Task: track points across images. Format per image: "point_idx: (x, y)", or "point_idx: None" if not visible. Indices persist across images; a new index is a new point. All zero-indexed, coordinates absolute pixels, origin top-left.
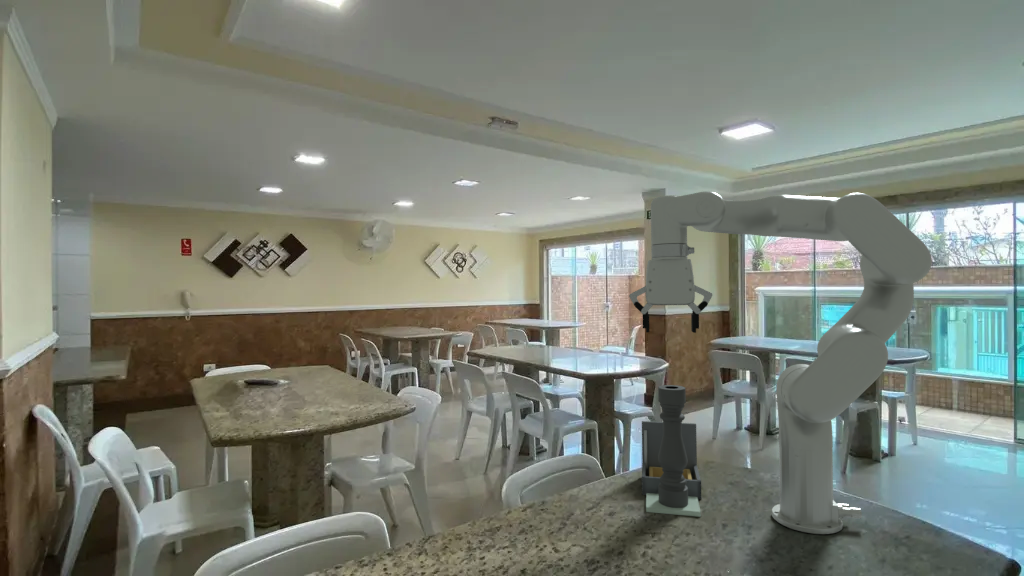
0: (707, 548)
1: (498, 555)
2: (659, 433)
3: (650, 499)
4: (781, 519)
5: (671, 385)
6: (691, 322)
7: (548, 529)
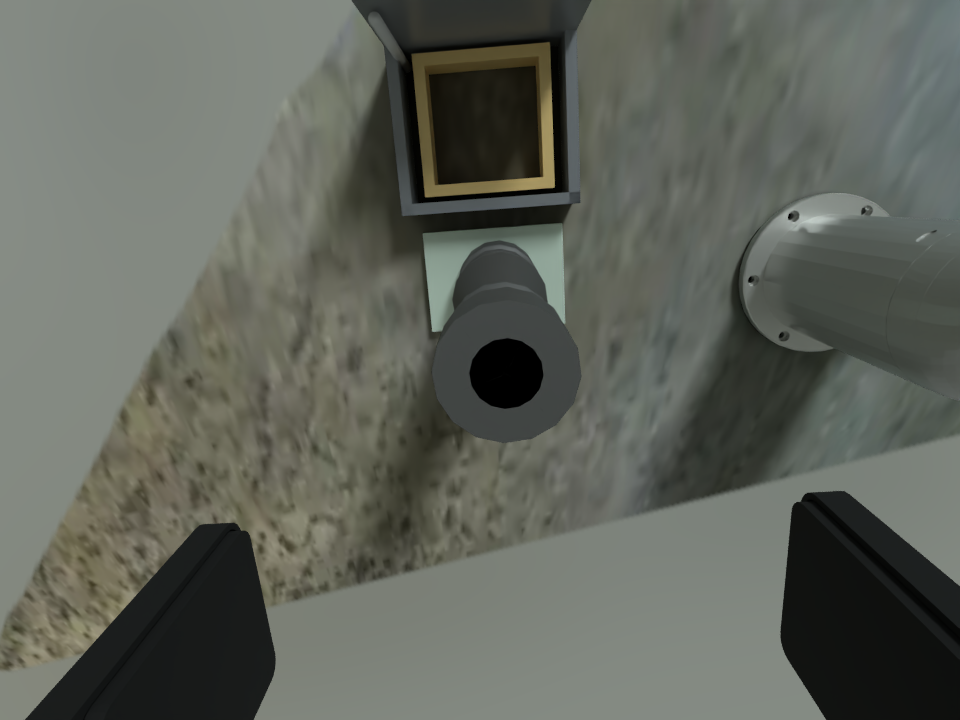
0: (567, 467)
1: None
2: (436, 4)
3: (438, 278)
4: (753, 320)
5: (503, 313)
6: (866, 594)
7: (243, 473)
